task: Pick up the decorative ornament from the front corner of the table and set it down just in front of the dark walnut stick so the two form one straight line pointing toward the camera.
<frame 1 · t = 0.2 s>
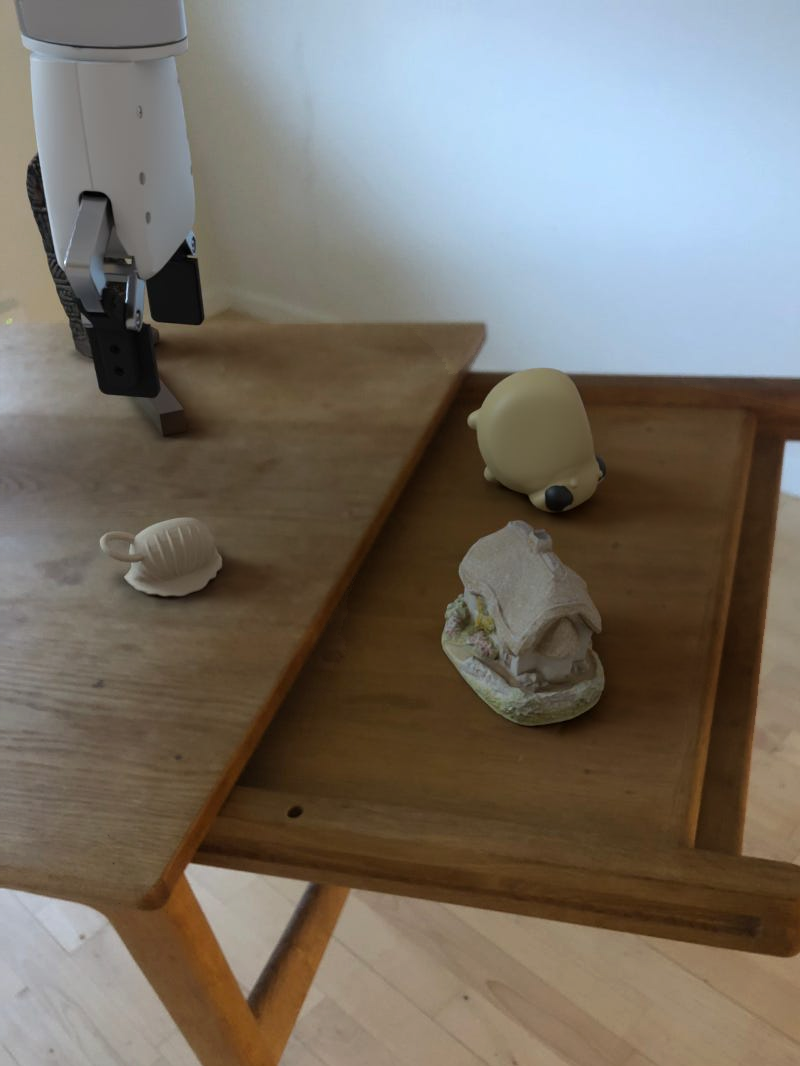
hand: (156, 355, 56), 19 cm above the table, tool pointing down, fingers open, 9 cm apart
toy pig: (534, 489, 83), on the table
ceramic model: (526, 656, 67), on the table
decorative ornament: (170, 582, 70), on the table
walnut stick: (150, 400, 90), on the table
statue: (114, 349, 98), on the table
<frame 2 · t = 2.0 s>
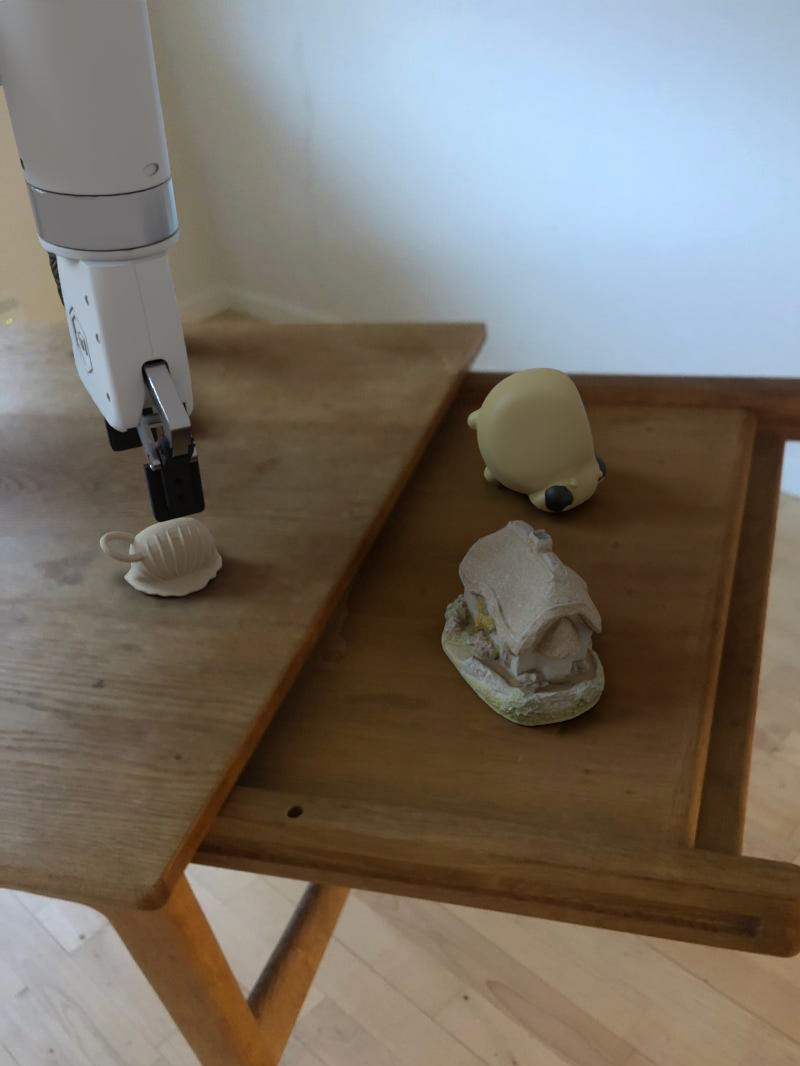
hand: (156, 478, 64), 9 cm above the table, tool pointing down, fingers open, 9 cm apart
nothing on the table moved.
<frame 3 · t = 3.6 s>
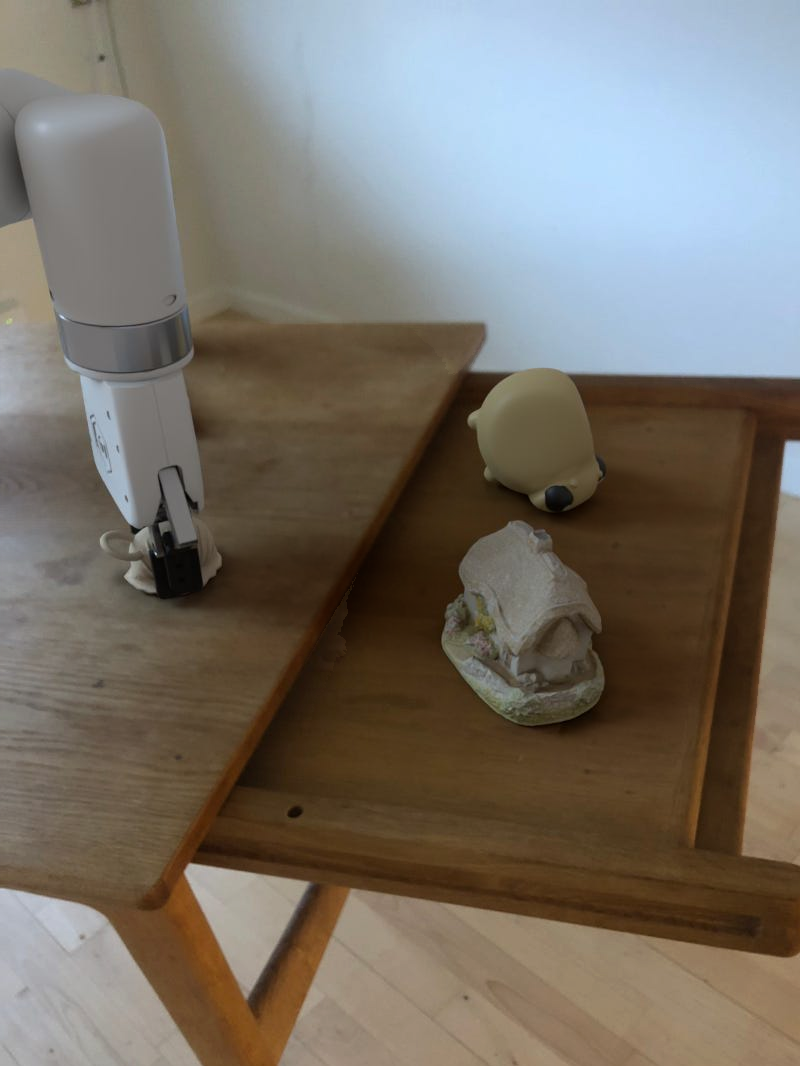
hand: (169, 572, 69), 1 cm above the table, tool pointing down, fingers closed on decorative ornament, 4 cm apart
decorative ornament: (170, 581, 70), on the table, touching gripper
everything else where it was.
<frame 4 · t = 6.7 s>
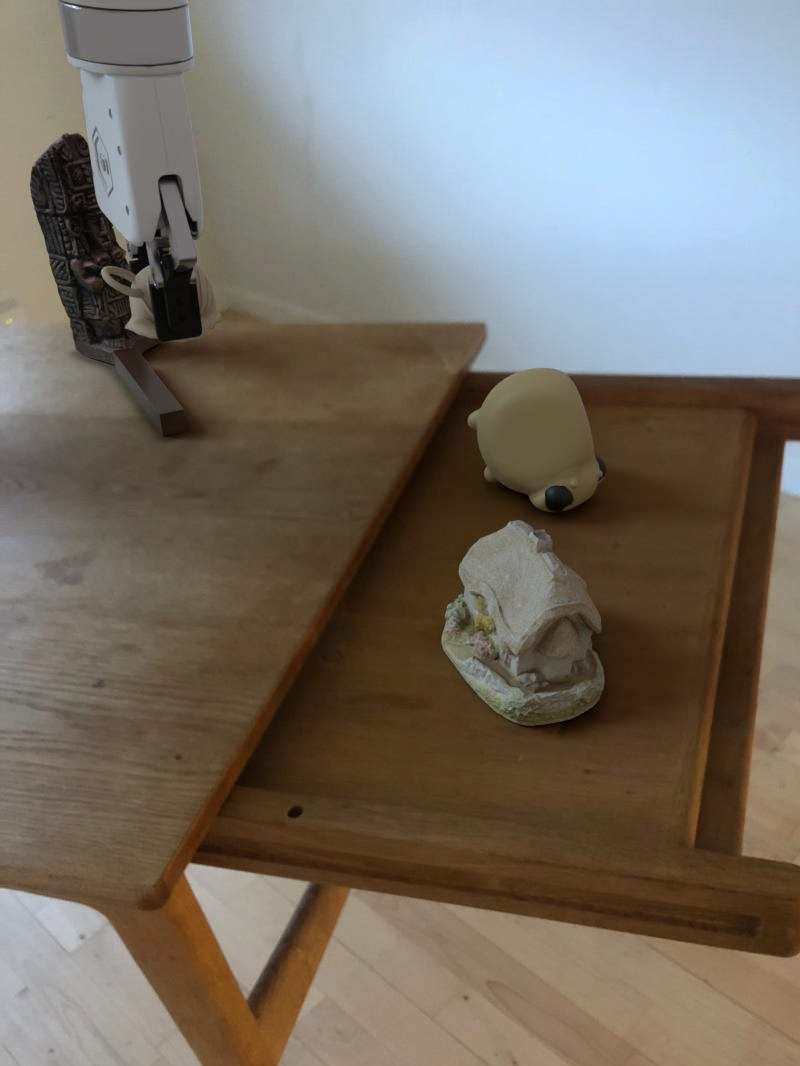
hand: (169, 322, 70), 14 cm above the table, tool pointing down, fingers closed on decorative ornament, 4 cm apart
decorative ornament: (170, 333, 71), point 13 cm above the table, touching gripper
everything else where it was.
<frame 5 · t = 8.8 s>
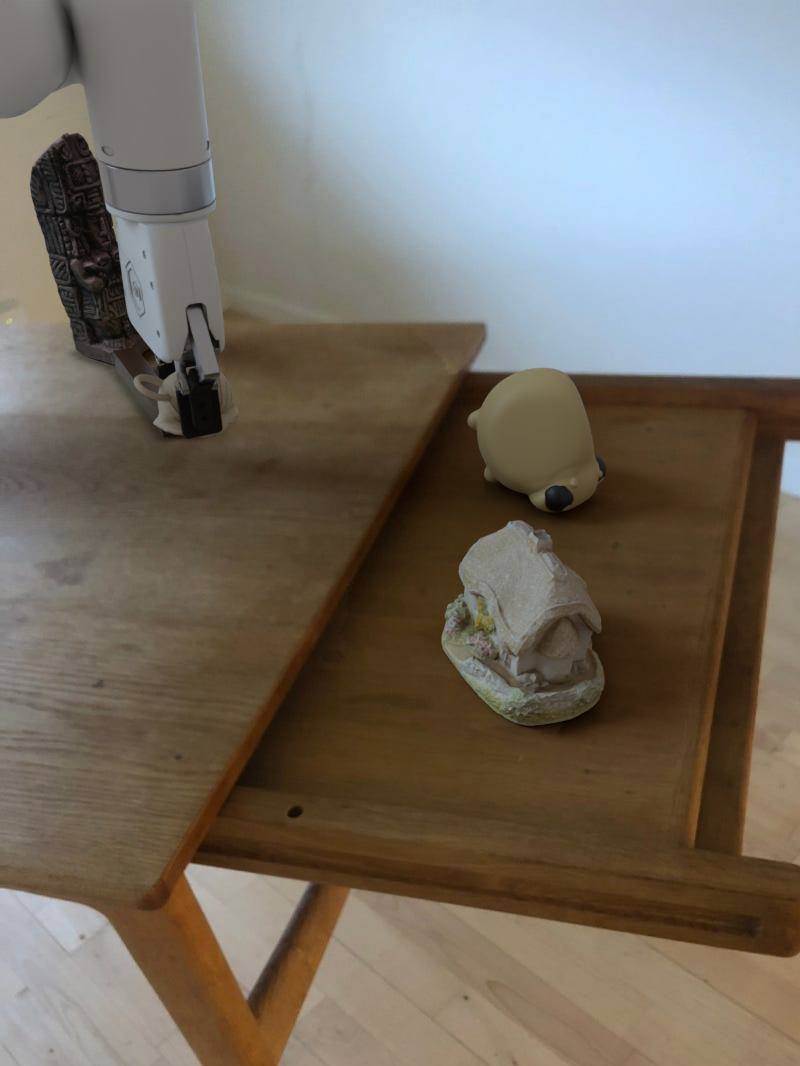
hand: (192, 419, 79), 5 cm above the table, tool pointing down, fingers closed on decorative ornament, 4 cm apart
decorative ornament: (193, 428, 79), point 4 cm above the table, touching gripper
everything else where it was.
when the fingers open (1 cm above the table, at t = 10.1 s): decorative ornament stays where it is, on the table.
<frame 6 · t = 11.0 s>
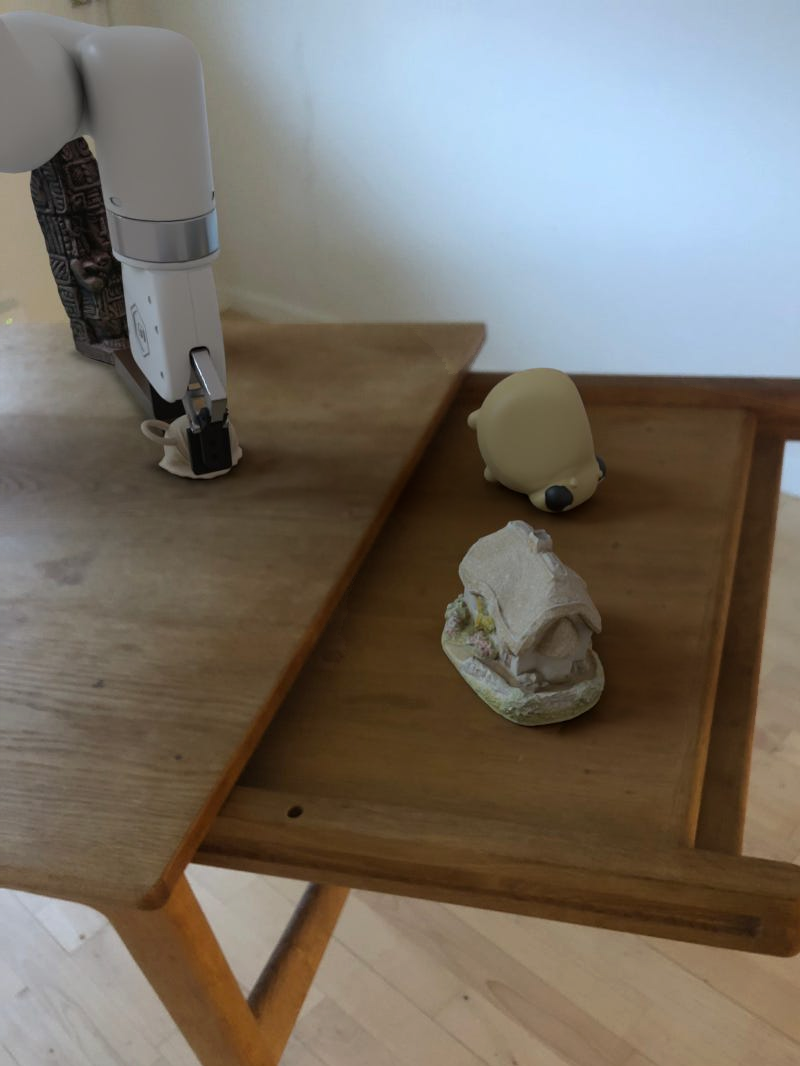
hand: (192, 442, 80), 2 cm above the table, tool pointing down, fingers open, 9 cm apart
decorative ornament: (198, 469, 82), on the table
everything else where it was.
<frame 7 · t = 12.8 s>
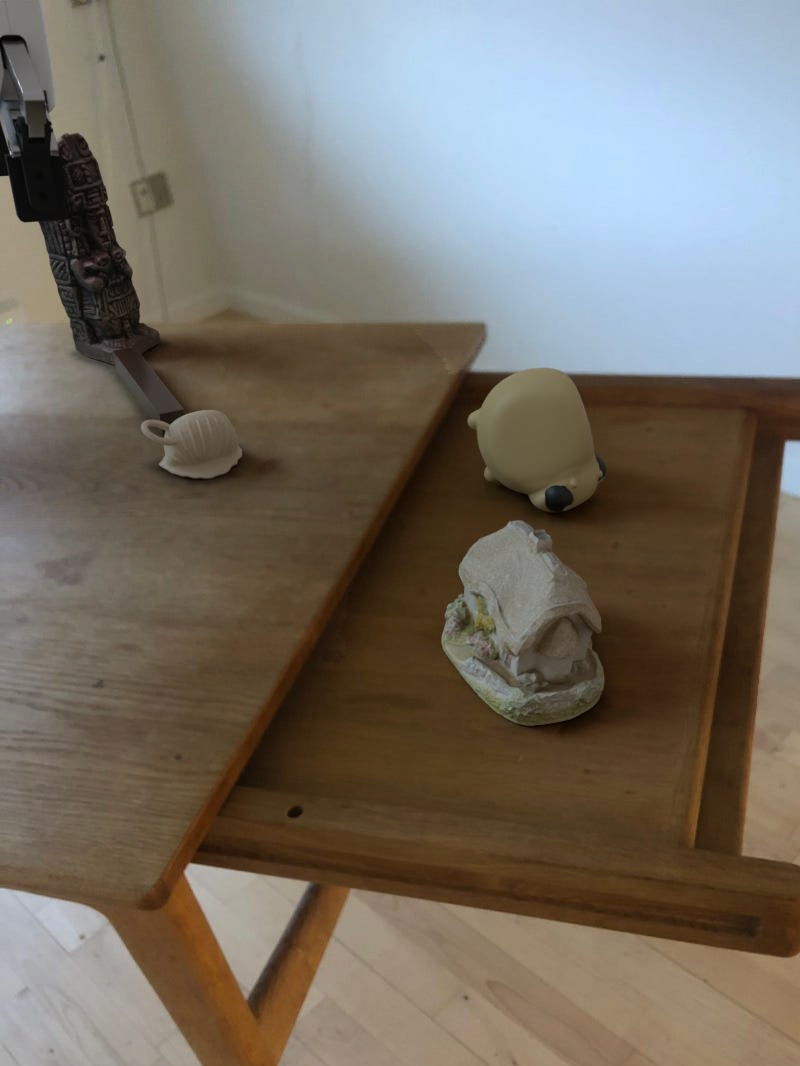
hand: (26, 196, 66), 22 cm above the table, tool pointing down, fingers open, 9 cm apart
nothing on the table moved.
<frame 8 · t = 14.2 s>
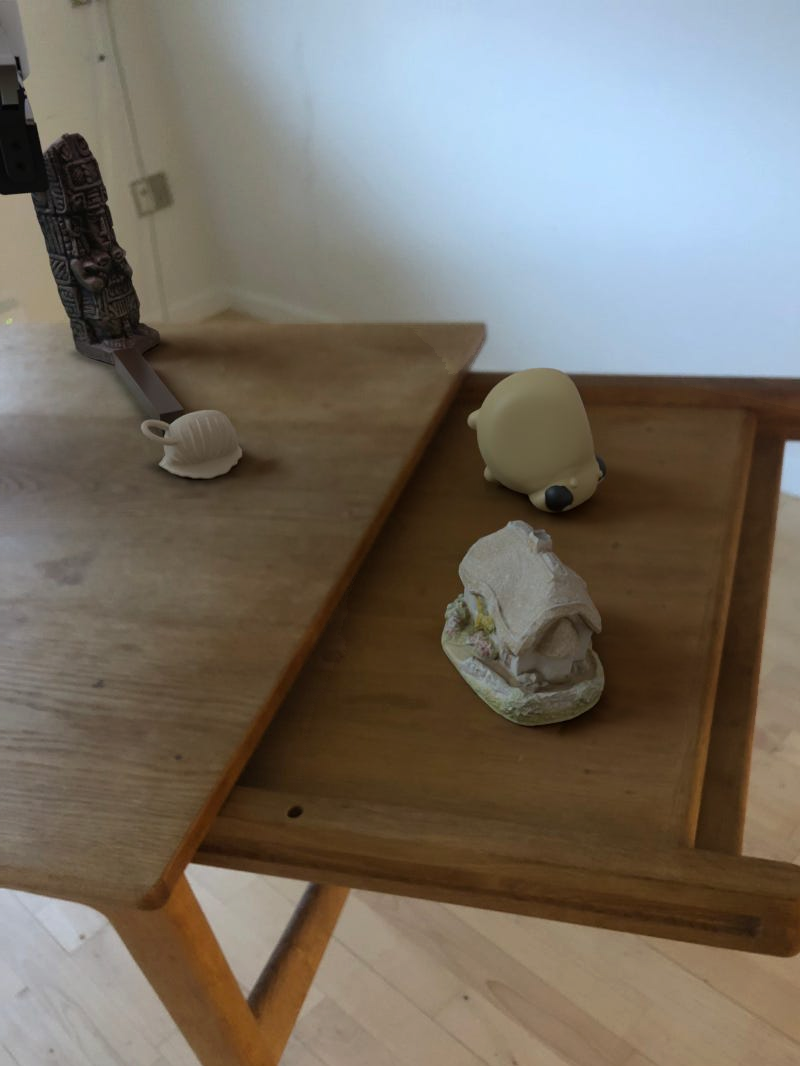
hand: (7, 170, 65), 23 cm above the table, tool pointing down, fingers open, 9 cm apart
nothing on the table moved.
at the end: decorative ornament 0.8 cm from the target spot on the table beside the walnut stick, on the table; decorative ornament tilted 1°; walnut stick moved 0.5 cm from its start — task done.
